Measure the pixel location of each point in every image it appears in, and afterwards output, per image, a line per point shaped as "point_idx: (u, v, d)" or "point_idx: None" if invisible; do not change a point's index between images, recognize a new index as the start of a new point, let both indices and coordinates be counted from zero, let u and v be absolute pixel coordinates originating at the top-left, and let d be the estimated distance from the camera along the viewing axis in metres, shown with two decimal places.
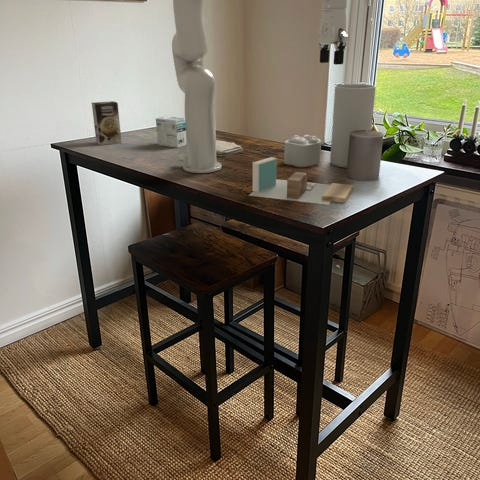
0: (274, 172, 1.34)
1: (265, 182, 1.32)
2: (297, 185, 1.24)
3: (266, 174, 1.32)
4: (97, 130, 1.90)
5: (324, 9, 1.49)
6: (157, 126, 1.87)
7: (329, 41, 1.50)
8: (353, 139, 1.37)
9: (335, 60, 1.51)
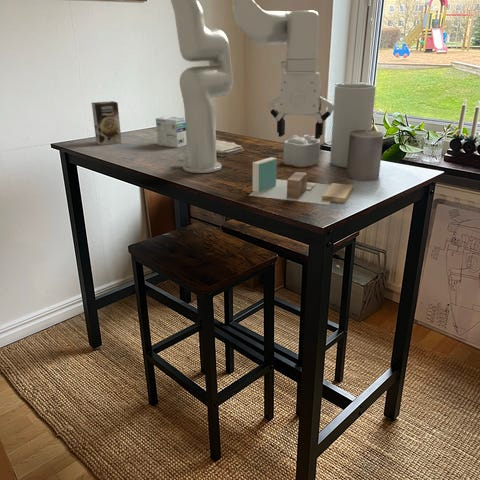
0: (274, 172, 1.34)
1: (265, 182, 1.32)
2: (297, 185, 1.24)
3: (266, 174, 1.32)
4: (97, 130, 1.90)
5: (299, 72, 1.13)
6: (157, 126, 1.87)
7: (310, 112, 1.17)
8: (353, 139, 1.37)
9: (318, 134, 1.20)
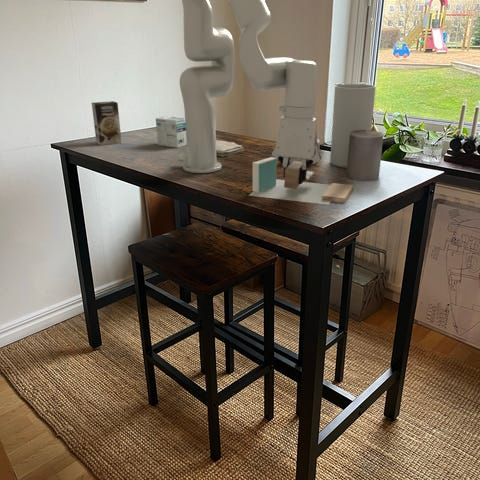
0: (274, 172, 1.34)
1: (265, 182, 1.32)
2: (295, 175, 1.23)
3: (266, 174, 1.32)
4: (97, 130, 1.90)
5: (296, 119, 1.18)
6: (157, 126, 1.87)
7: (305, 156, 1.22)
8: (353, 139, 1.37)
9: (301, 179, 1.26)
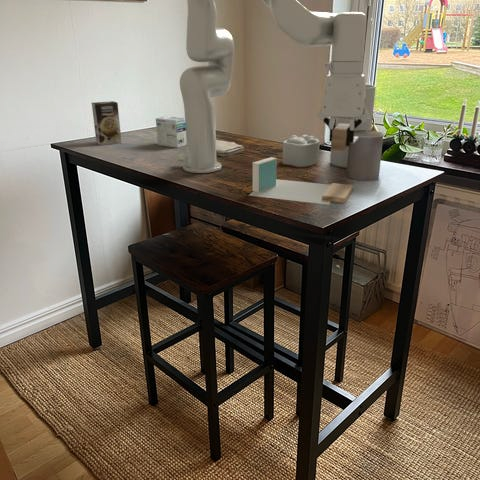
0: (274, 172, 1.34)
1: (265, 182, 1.32)
2: (343, 135, 1.17)
3: (266, 174, 1.32)
4: (97, 130, 1.90)
5: (345, 75, 1.12)
6: (157, 126, 1.87)
7: (354, 115, 1.15)
8: None
9: (349, 141, 1.20)
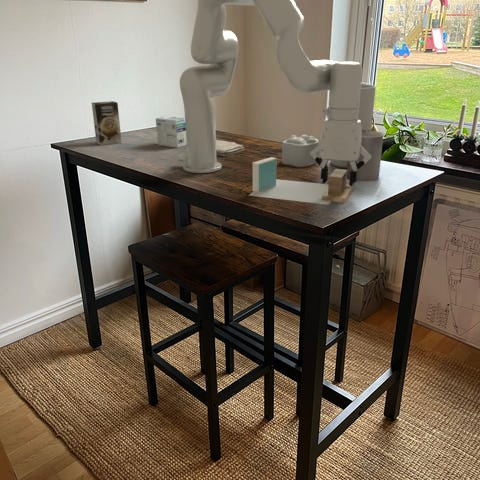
0: (274, 172, 1.34)
1: (265, 182, 1.32)
2: (339, 182, 1.22)
3: (266, 174, 1.32)
4: (97, 130, 1.90)
5: (341, 121, 1.16)
6: (157, 126, 1.87)
7: (350, 158, 1.20)
8: None
9: (352, 181, 1.23)
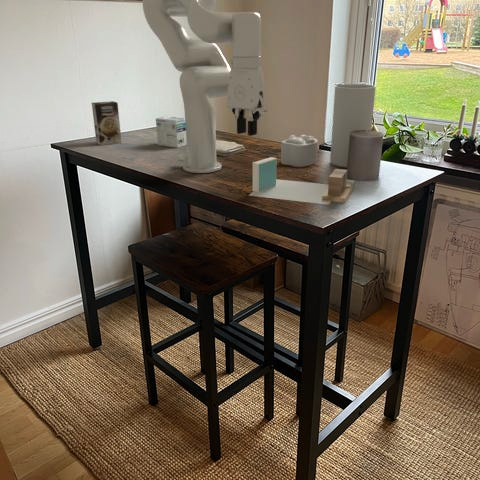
0: (274, 172, 1.34)
1: (265, 182, 1.32)
2: (339, 182, 1.22)
3: (266, 174, 1.32)
4: (97, 130, 1.90)
5: (238, 69, 1.23)
6: (157, 126, 1.87)
7: (249, 106, 1.25)
8: (353, 139, 1.37)
9: (250, 131, 1.30)
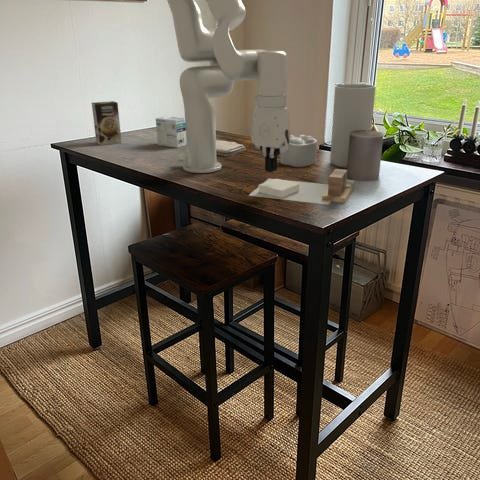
0: None
1: None
2: (339, 182, 1.22)
3: None
4: (97, 130, 1.90)
5: (263, 108, 1.21)
6: (157, 126, 1.87)
7: (274, 145, 1.24)
8: (353, 139, 1.37)
9: (270, 167, 1.29)
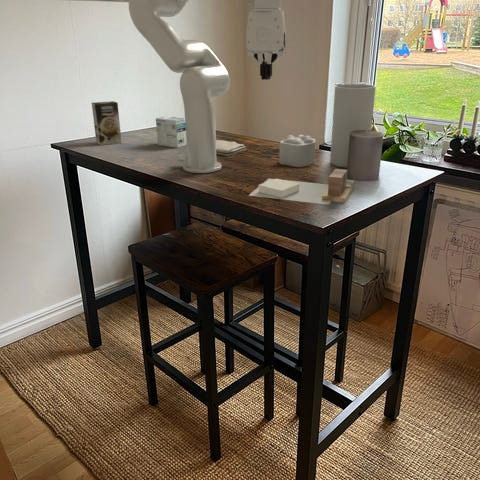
0: None
1: None
2: (339, 182, 1.22)
3: None
4: (97, 130, 1.90)
5: (263, 9, 1.21)
6: (157, 126, 1.87)
7: (274, 48, 1.25)
8: (353, 139, 1.37)
9: (267, 75, 1.30)
